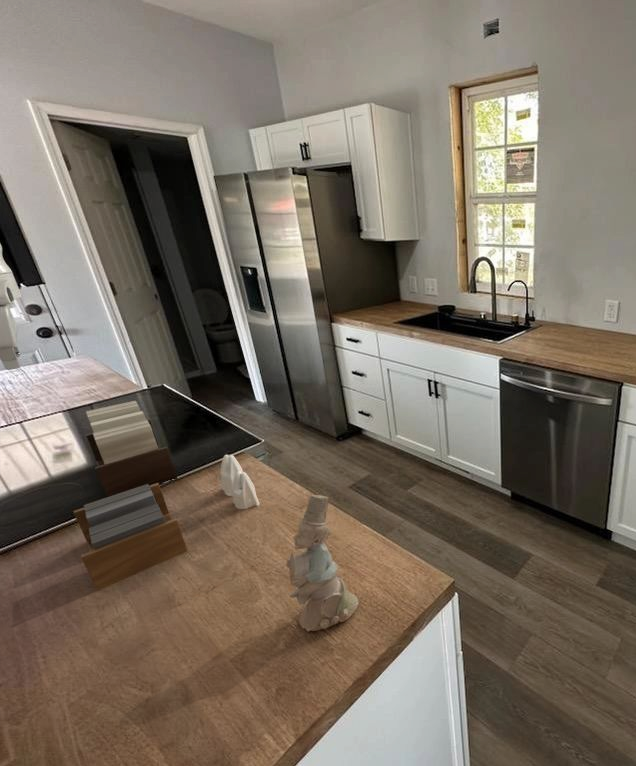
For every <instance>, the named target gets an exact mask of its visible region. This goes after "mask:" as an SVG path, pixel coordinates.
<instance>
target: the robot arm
mask: <svg viewBox="0 0 636 766" xmlns="http://www.w3.org/2000/svg"><path fill="white" fill-rule="evenodd" d="M22 297H23V296H22V293H21V291H20V288H19V286H18V283H17V280H16V278H15V276H14V272H13V271H12V269H11V268H10V266H9V265H8V264H7V263H6V261H5V259H4V257H3V246H2V244H1V243H0V361H1V362H2V364H3V367H4V369H5V370H8V371H11V370H19V369H20V367H21V364H20V362H19V359H18V358H20V356H21V352H20V350H19V347H18V325H17V322H16V319H15V317H14V315H13V312H12V311H11V309H13V308H16V307H17V305H16V303H15V301H16V300H17V299H21V298H22Z"/></svg>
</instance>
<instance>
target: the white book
mask: <svg viewBox="0 0 636 766" xmlns="http://www.w3.org/2000/svg"><path fill="white" fill-rule="evenodd" d="M143 420H147V418H146V416H145V413H144V411H143V410H140V412H136V413H131V414H127V415H123V416H118V417H114V418H110V419H106V420H101V421H97V422H93V423H90V422H89V424H90V427H91V429H92V433H94V432H98V431H103V430H107V429H111V428H115V427H119V426H123V425H127V424H131V423H135V422H139V421H143Z"/></svg>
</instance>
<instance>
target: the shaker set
mask: <svg viewBox="0 0 636 766" xmlns="http://www.w3.org/2000/svg"><path fill="white" fill-rule="evenodd" d="M220 478H221V482H220V483H221V484H220V485H221V486H220V487H221V488H220V489H221V491H224V494H225V495H226V496H228V497H231V496H232V504H233V505H234V507H235V508H236V509H238V510H247V509H249V508H251V507H254V506H256V507H258V506H259V505H260V501H259V499H258V496H257V492H256V487H255V485H254V483H253V481H252V480H251V478H250V477H249V475H248V473H246V472H245V471H243V469H242V466H241V465H240V463H239V461H238V460H237V458H236V457H235V456H234V455H233V454H224V456H223V457H222V460H221V464H220Z"/></svg>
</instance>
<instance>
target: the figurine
mask: <svg viewBox="0 0 636 766" xmlns="http://www.w3.org/2000/svg"><path fill="white" fill-rule="evenodd" d="M329 501H330V500H329V496H326V495H322V494H321V495H319V494H311V495H310V497H309V500H308V503H307V506H306V510H305V513H304V514H303V518H302V519H301V521H300V523H298V527H297V528H298V529H297V531H298V532H297V533H296V534H294V536H293V540H294V549H295V550H303V549H306V550H304V551H303V552H298V553H297V552H296V553H294V552H291V553H290V555H289V557H287V558H286V561H285V562H286V563H285V565H286V568H287V569H289V580H290V585H291V586H293V587H296V590H295V591H294V592H292V593H291V594H290V595H289V598H293V599H294V598H296V601H297V603H298V604H299V605H301V606H302V605H305V606H304V607H303V609H302V611H301V612H300V615H299V617H298V619H299V620H298V623H299V625H300V627H301V629H303V630H305V631H306V632H311V631H312V632H315V631H320V630H326V629H327V628H329V627H331V626H334V625H336V624H338V623H339V622H340V623H343V622H345V621H347V620H348V619H349V618H350V617H351V616H352V615H353V614H354V612H355V611H356V610H357V609H358V606H359V599H358V597H357V595H355V594H354V593H353V592H350V591H349V590H348V589H347V587H346V584H345V581H344V579H343V578H342V577H340V576H338V574H339V565H338V564H337V563H336V562H335V561H334V560H333V557H332V554H331V553H330V551H329V549H328V547H327V545H326V543H325V542H326V541H327V540H328V539H329V536H330V535H331V529H330V526H328V525H327V522H326V520H327V513H328V507H329Z"/></svg>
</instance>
